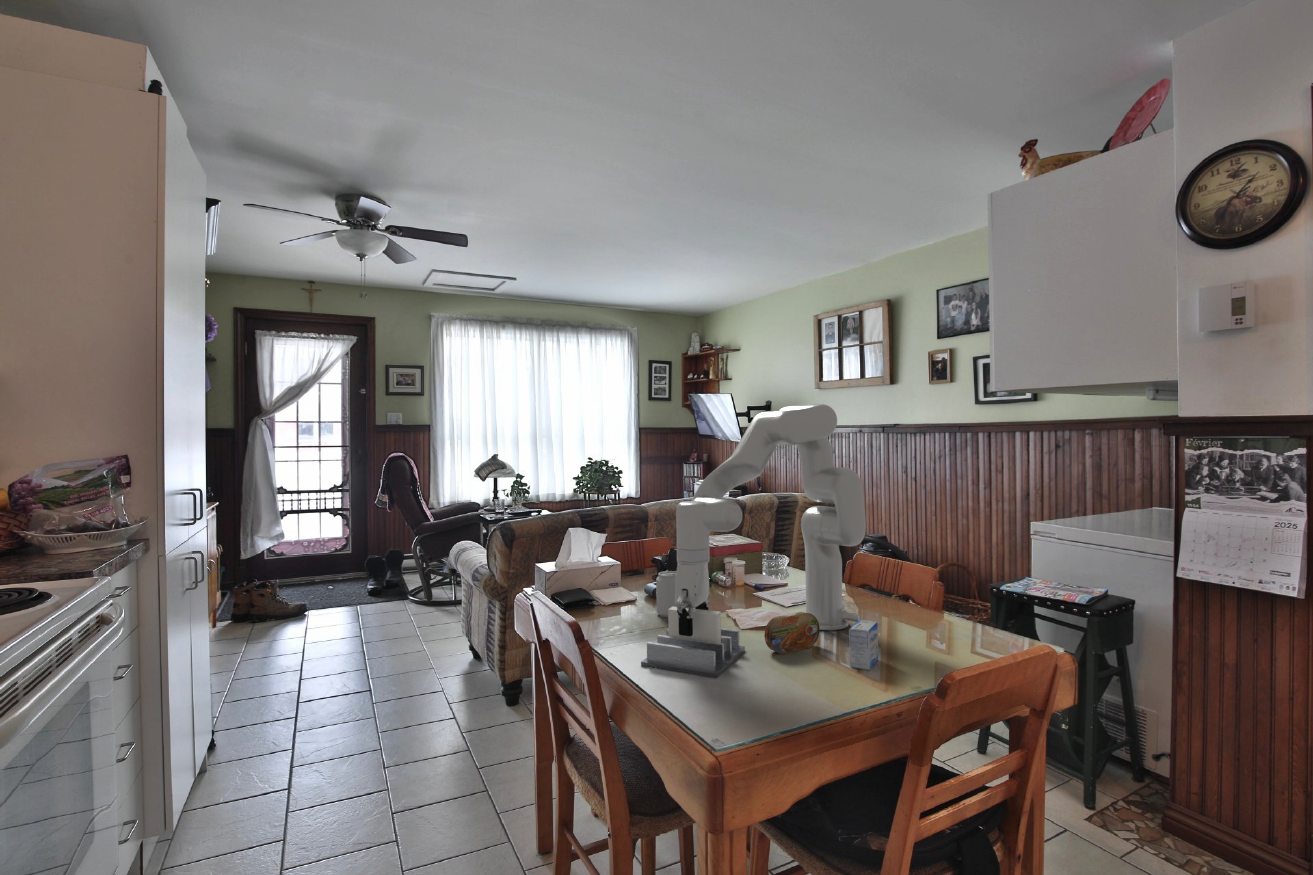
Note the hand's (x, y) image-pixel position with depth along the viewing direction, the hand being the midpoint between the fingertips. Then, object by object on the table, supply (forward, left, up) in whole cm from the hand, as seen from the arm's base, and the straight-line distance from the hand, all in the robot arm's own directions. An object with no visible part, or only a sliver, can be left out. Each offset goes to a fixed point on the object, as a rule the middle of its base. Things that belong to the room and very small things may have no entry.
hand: (694, 629), depth 150 cm
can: (+20, -30, -7) cm, 37 cm away
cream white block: (0, 0, -6) cm, 6 cm away
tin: (-19, -15, -7) cm, 25 cm away
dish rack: (0, 0, -7) cm, 7 cm away
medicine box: (-36, -12, -7) cm, 39 cm away
